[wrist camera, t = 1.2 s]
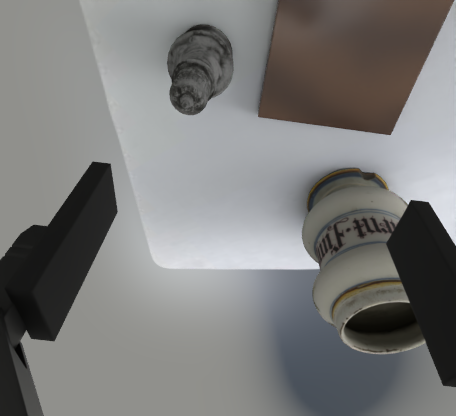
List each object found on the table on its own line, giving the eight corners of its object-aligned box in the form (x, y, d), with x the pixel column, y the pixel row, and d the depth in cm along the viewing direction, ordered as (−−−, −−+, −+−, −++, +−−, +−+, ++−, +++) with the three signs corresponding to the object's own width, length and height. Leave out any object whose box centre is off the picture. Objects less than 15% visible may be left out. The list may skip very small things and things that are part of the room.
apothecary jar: (417, 169, 39) (503, 302, 25) (372, 241, 47) (419, 372, 33) (315, 151, 38) (346, 278, 25) (286, 227, 46) (298, 355, 32)
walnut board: (307, -164, 23) (309, -167, 22) (508, -133, 23) (518, -135, 22) (258, 112, 36) (257, 117, 35) (387, 129, 36) (390, 135, 35)
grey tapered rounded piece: (207, 5, 30) (185, 42, 21) (248, 60, 33) (243, 113, 23) (162, 49, 33) (124, 99, 23) (203, 96, 35) (183, 158, 26)
